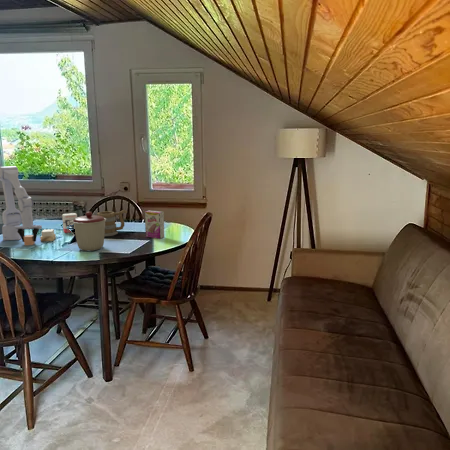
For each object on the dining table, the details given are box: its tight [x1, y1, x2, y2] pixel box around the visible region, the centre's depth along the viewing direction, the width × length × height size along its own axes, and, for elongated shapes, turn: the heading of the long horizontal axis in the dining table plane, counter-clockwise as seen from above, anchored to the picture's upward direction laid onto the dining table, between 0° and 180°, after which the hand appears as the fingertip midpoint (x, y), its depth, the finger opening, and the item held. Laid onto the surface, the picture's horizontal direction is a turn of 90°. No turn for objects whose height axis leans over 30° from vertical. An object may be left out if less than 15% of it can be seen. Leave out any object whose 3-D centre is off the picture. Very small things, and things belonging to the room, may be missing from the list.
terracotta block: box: [23, 234, 36, 246], centre depth 246 cm, size 4×4×5 cm
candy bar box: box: [144, 210, 165, 240], centre depth 261 cm, size 11×5×16 cm, turn 65°
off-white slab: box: [41, 228, 55, 237], centre depth 256 cm, size 6×6×3 cm
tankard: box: [96, 209, 128, 237], centre depth 271 cm, size 20×13×15 cm, turn 114°
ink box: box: [61, 212, 78, 234], centre depth 277 cm, size 8×5×12 cm, turn 123°
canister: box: [72, 211, 106, 252], centre depth 234 cm, size 18×18×21 cm
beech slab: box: [39, 233, 57, 242], centre depth 257 cm, size 7×7×3 cm
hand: (29, 241), depth 246 cm, fingers open, 5 cm apart
